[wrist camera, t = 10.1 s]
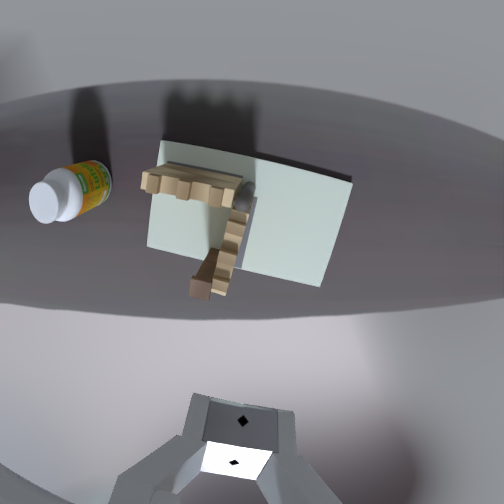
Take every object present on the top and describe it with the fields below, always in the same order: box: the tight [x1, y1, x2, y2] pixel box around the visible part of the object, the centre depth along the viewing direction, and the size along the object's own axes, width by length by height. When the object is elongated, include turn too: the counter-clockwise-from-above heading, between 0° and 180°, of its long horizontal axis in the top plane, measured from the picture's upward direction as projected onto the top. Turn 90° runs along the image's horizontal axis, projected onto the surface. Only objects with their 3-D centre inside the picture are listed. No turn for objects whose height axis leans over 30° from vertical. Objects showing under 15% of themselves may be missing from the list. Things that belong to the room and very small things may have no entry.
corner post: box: [189, 247, 220, 301], centre depth 31 cm, size 2×2×8 cm
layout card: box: [147, 140, 353, 287], centre depth 33 cm, size 20×12×1 cm, turn 78°
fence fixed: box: [141, 163, 256, 212], centre depth 28 cm, size 10×2×7 cm, turn 78°
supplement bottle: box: [29, 160, 112, 223], centre depth 28 cm, size 5×5×10 cm
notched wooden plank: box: [211, 198, 254, 296], centre depth 30 cm, size 8×2×7 cm, turn 164°
